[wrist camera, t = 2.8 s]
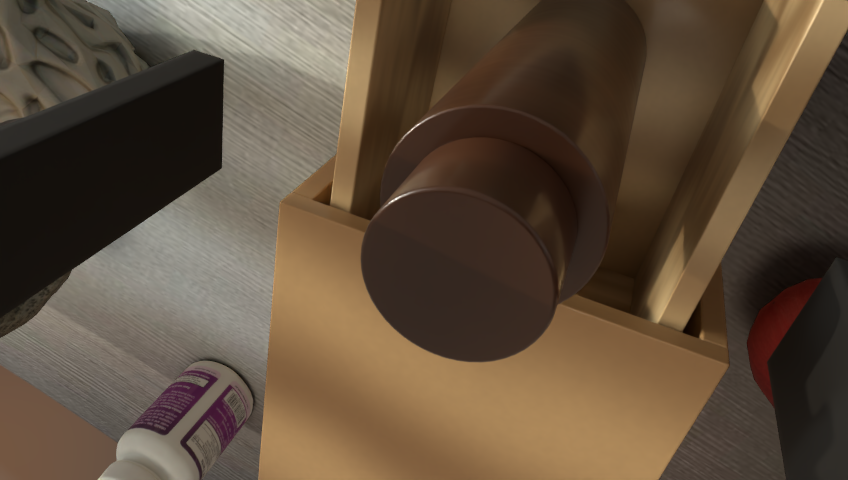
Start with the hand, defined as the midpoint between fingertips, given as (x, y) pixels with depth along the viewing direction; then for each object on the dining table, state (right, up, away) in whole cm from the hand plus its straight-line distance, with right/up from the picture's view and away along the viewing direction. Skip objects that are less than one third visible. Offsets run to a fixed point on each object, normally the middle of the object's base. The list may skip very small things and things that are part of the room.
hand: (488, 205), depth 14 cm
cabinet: (+3, -4, +20) cm, 20 cm away
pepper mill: (+4, +6, +11) cm, 13 cm away
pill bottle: (-15, -11, +31) cm, 36 cm away
